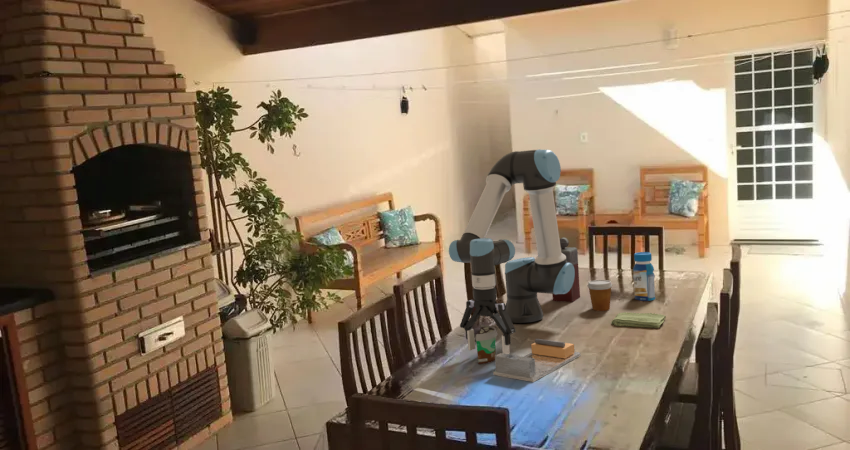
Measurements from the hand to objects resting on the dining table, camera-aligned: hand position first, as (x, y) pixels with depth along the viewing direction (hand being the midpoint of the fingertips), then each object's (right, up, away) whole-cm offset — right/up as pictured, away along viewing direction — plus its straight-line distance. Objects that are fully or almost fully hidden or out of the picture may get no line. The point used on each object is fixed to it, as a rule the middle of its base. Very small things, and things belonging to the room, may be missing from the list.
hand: (488, 352), depth 224 cm
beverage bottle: (+70, +9, +62) cm, 94 cm away
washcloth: (+58, +5, +30) cm, 65 cm away
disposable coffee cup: (+49, +6, +50) cm, 70 cm away
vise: (+14, -2, -9) cm, 17 cm away
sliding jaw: (+20, 0, -3) cm, 20 cm away
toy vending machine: (+40, +8, +70) cm, 81 cm away
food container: (0, -3, 0) cm, 3 cm away
